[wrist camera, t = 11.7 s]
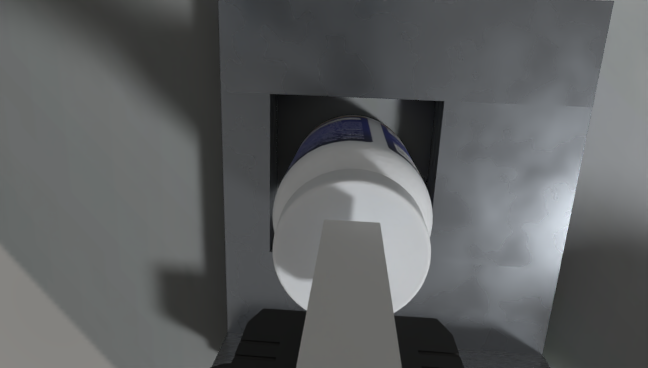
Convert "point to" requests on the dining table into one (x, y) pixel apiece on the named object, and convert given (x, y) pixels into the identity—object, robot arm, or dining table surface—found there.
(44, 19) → the dining table surface
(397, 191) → the pill bottle
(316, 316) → the robot arm
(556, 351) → the dining table surface
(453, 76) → the jig
